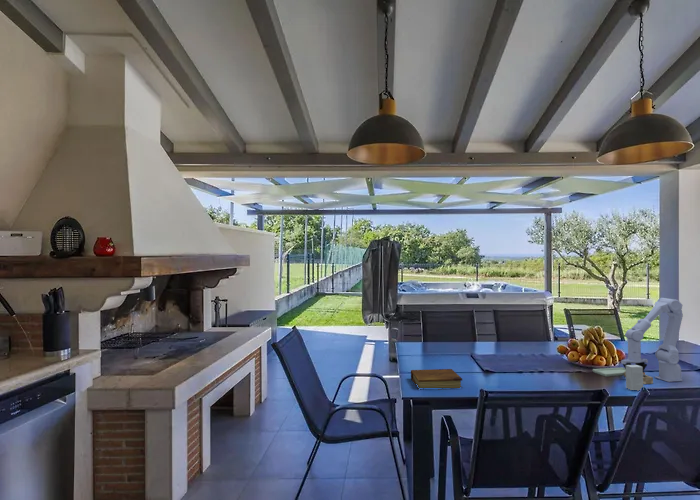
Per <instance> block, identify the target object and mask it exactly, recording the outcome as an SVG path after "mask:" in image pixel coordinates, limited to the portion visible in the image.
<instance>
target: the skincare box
mask: <svg viewBox="0 0 700 500" xmlns="http://www.w3.org/2000/svg"><path fill="white" fill-rule="evenodd" d="M643 372H644V371H643V367H641V366H639V365H636V364H632V365H626V378H625V383H626V384H625V387H626V389H627V388H628V389H627V390H629V389H630V390H629V391H631V390H637V391H636V392H638V391H639V390H640V389H641V388H642V387H643V388H644V384H643ZM639 392H640V391H639Z"/></svg>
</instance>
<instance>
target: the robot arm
mask: <svg viewBox="0 0 700 500" xmlns="http://www.w3.org/2000/svg"><path fill="white" fill-rule="evenodd" d="M662 313H666V314H667V315H668V320H667V324H666V328H665V333H664V337H663V342H662V344H660V345H658V347H657V350H656V351H655V353H654V354H655V358H656V359H657V361H658V376H657V375H656V376H654V378H656V379H659V380H661V381H665V382H668V383H669V382H670V383H671V382H683V381H684V379H682V368H681V365H680V364H679V362H680V356H679V355H680V352H679V350H678V348H677V347H676V346H677V342H678V338H679V333H680V329H681V326H682V321H683V317H684V315H683V304H682V302H680V300H678V299H675V298H668V297H667V298H666V297H660V298H658V299H657V301H655V303H654V305H653V307H652V308H651V310H650V311H649V312H648V314H647V315H646V316H645V317H644V318H640V319H638V320H637V322H636V323H635V324H634V326H632V327H631V328H629V329H627V330H626V331H625V333H624V336H625V338H626V339H627V340H626V341H627V358H625V359H621V361H620V362H621V364H622V365H623V368H625V369H626V365H633V364H634V365H639V366H641V367H643V372H645V369H646V368H647V366H648V363H649V361H648V359H647V358H642V346H641V345H642V344H641V341H642V340H643V339H644V335H645V333H646V332H647V331H648V330H649V329H650V328H651V327H652V322H653V321H654V320H656V318H657V317H659V316H660V315H661V314H662Z"/></svg>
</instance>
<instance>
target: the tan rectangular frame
mask: <svg viewBox="0 0 700 500" xmlns="http://www.w3.org/2000/svg"><path fill="white" fill-rule="evenodd" d="M624 378H625V379H626V371H625V372H624ZM649 384H650V385H651V384H654V377H653V376H649V375H647V374H645V377H643V385H649Z"/></svg>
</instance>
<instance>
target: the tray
mask: <svg viewBox="0 0 700 500" xmlns="http://www.w3.org/2000/svg"><path fill="white" fill-rule="evenodd" d="M625 371H626V369H625V367H624V366H623V367H608V368H592V372H593V373H595V374H597V375H600V376H602V377H605V378H607V377H609V378H610V377H622V376H624V372H625ZM624 377H625V376H624Z"/></svg>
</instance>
